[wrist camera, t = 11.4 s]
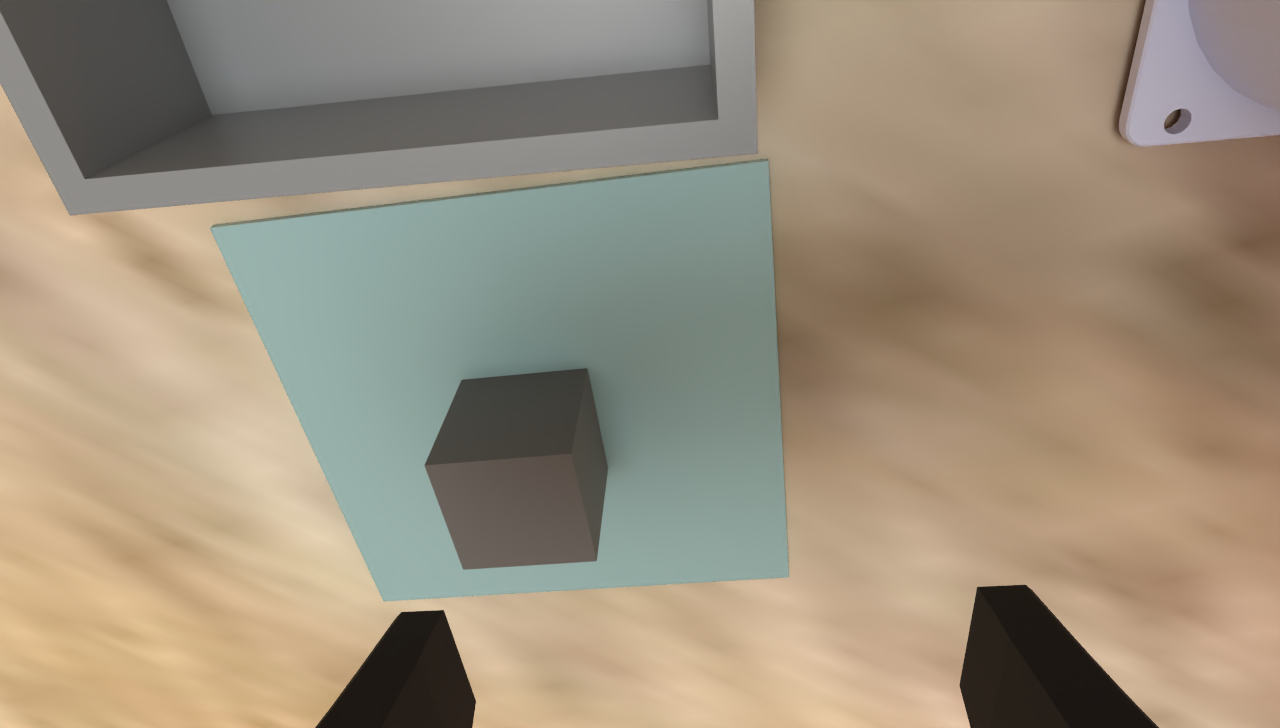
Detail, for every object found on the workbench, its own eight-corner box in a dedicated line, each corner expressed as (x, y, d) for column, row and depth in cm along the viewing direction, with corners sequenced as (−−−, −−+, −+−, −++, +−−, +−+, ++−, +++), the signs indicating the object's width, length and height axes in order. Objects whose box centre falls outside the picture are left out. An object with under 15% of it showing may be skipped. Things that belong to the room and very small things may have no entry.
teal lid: (765, 150, 18) (787, 222, 14) (786, 558, 25) (804, 676, 21) (226, 215, 19) (119, 296, 16) (390, 583, 27) (344, 697, 23)
